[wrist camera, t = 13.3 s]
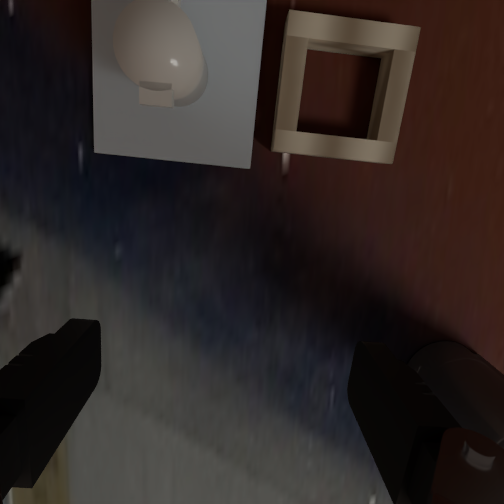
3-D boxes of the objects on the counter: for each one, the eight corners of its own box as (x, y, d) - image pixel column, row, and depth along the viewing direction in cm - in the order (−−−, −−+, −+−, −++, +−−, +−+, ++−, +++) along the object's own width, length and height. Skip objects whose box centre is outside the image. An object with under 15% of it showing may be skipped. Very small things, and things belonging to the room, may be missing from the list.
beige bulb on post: (206, 119, 34) (195, 109, 26) (146, 114, 34) (114, 101, 25) (212, -16, 31) (201, -81, 22) (145, -23, 31) (108, -92, 22)
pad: (266, -5, 32) (267, -9, 31) (249, 168, 36) (250, 168, 36) (94, -28, 31) (90, -33, 30) (97, 152, 35) (94, 152, 35)
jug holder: (405, 38, 34) (420, 27, 31) (380, 163, 37) (392, 163, 34) (285, 22, 33) (289, 9, 30) (270, 151, 36) (273, 150, 33)
